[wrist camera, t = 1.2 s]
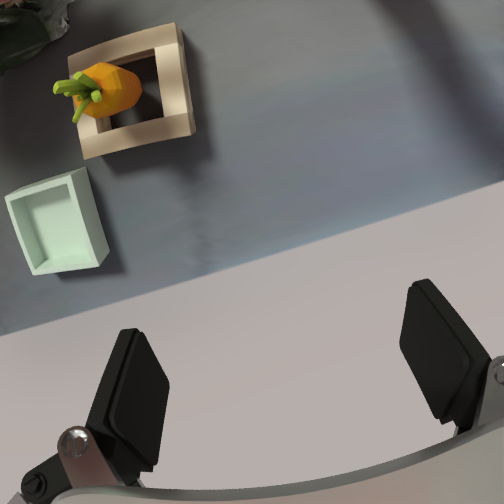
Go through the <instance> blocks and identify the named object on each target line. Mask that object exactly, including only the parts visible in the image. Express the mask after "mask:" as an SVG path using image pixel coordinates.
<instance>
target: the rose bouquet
mask: <svg viewBox="0 0 504 504" xmlns="http://www.w3.org/2000/svg"><path fill="white" fill-rule="evenodd" d="M74 1H75V0H0V76H2V75H4V74H3V73H4V70H5V69H7V68H10V67H15V66H18V65H20V64H21V63H23V62H25V61H26V60H28V59H30V58H32V57H33V56H35V55H36V54H37V53H39V52H40V51H41V50H42V49H43V48H44V47H45V46H46V45H47V44H49V43H50V42H51V41H54V40H57V39H58V38H61V37H62V36H63V35H64V33H66V32H67V31H68V29H69V27H70V25H69V23H68V22H69V18H68V16H67V15H68V11H67V8H68V6H69V4H68V3H71V2H74ZM77 1H78V0H77ZM23 2H28V4H29V5H30V7H31V8H30V9H28V10H27V9H24V8H23V6H24V5H23V4H24V3H23ZM67 4H68V6H66V5H67ZM38 7H42V9H41V11H40V12H38V11H36V10H35V11H34V9H36V8H38Z"/></svg>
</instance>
